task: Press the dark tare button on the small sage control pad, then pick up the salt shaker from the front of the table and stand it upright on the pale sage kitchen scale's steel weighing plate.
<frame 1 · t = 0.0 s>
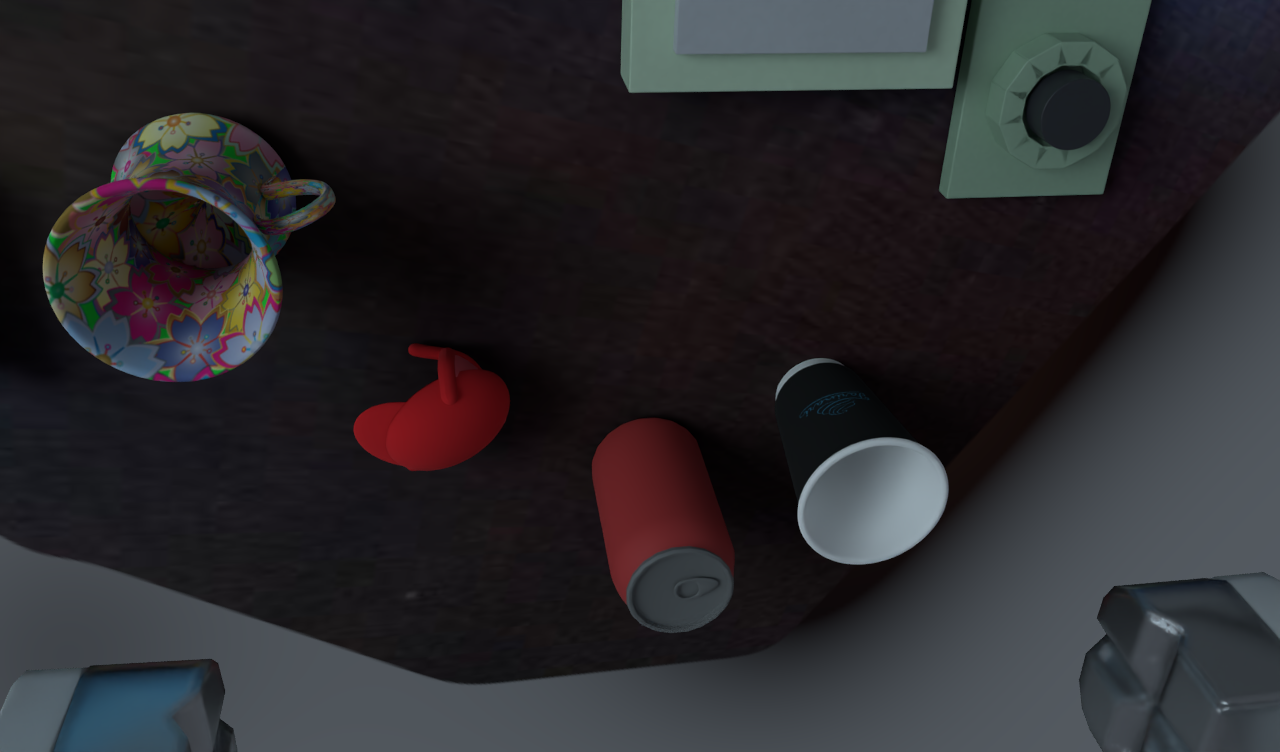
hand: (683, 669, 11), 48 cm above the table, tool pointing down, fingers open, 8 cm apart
cap: (434, 380, 64), on the table
beer can: (644, 456, 68), on the table
mug: (234, 179, 56), on the table
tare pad: (1037, 89, 60), on the table
dixie cup: (813, 391, 68), on the table
tare button: (1067, 109, 57), point 3 cm above the table, slide at 0.1 cm
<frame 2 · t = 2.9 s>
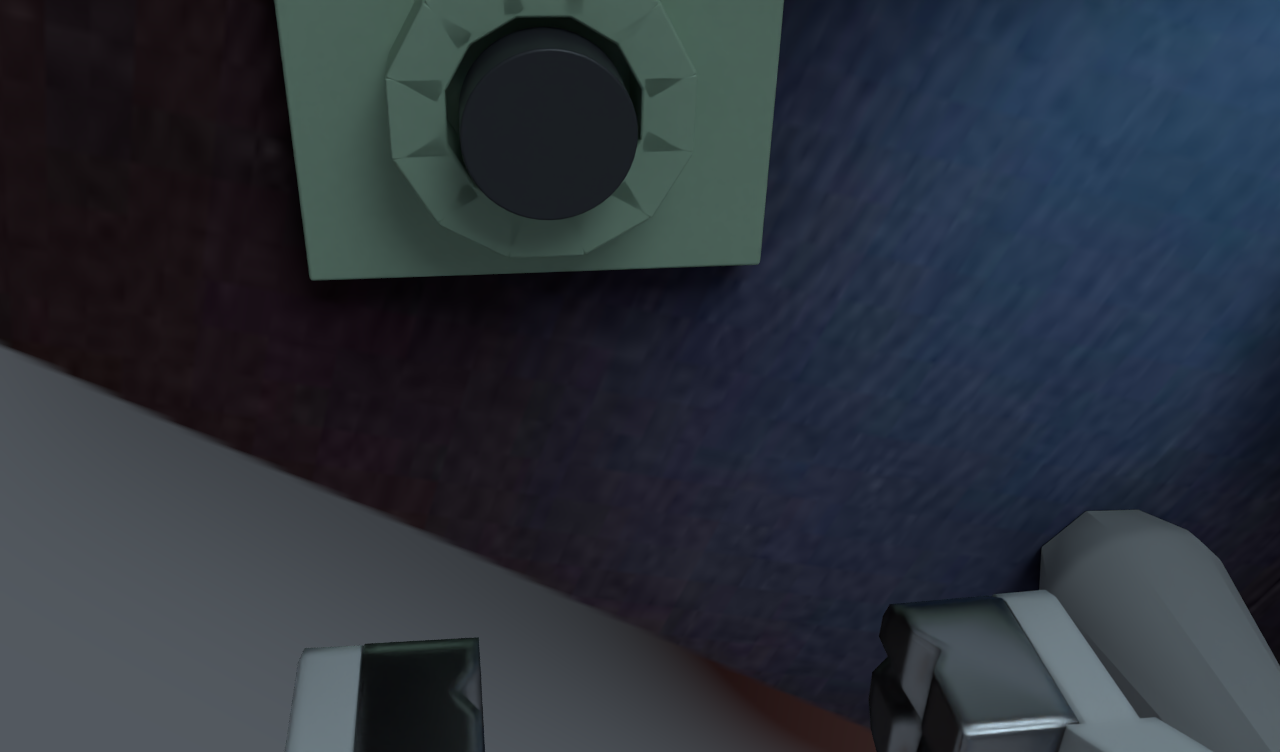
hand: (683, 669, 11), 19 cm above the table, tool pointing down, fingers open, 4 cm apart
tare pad: (535, 76, 27), on the table
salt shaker: (1092, 553, 38), on the table
tare button: (546, 124, 24), point 3 cm above the table, slide at 0.1 cm
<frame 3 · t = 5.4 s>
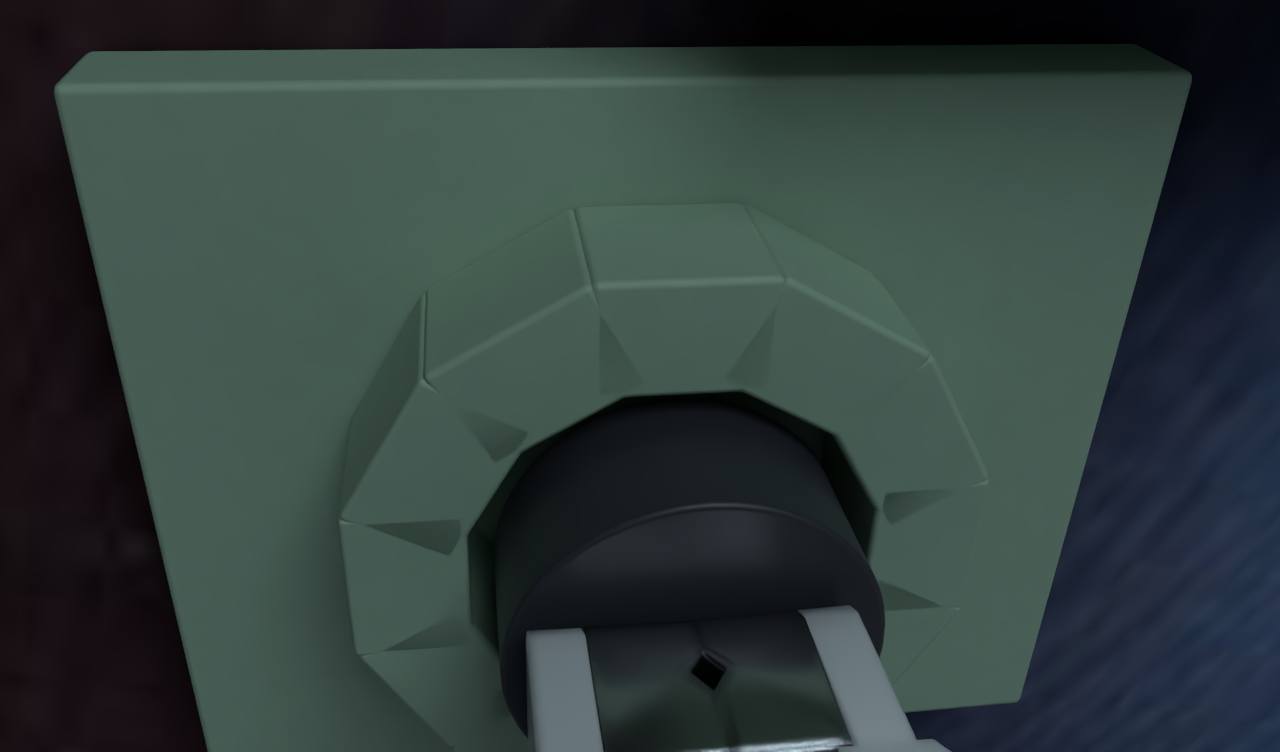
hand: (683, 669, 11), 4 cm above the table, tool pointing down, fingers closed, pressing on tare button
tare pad: (633, 411, 14), on the table
tare button: (681, 597, 11), point 3 cm above the table, slide at 0.0 cm, touching gripper
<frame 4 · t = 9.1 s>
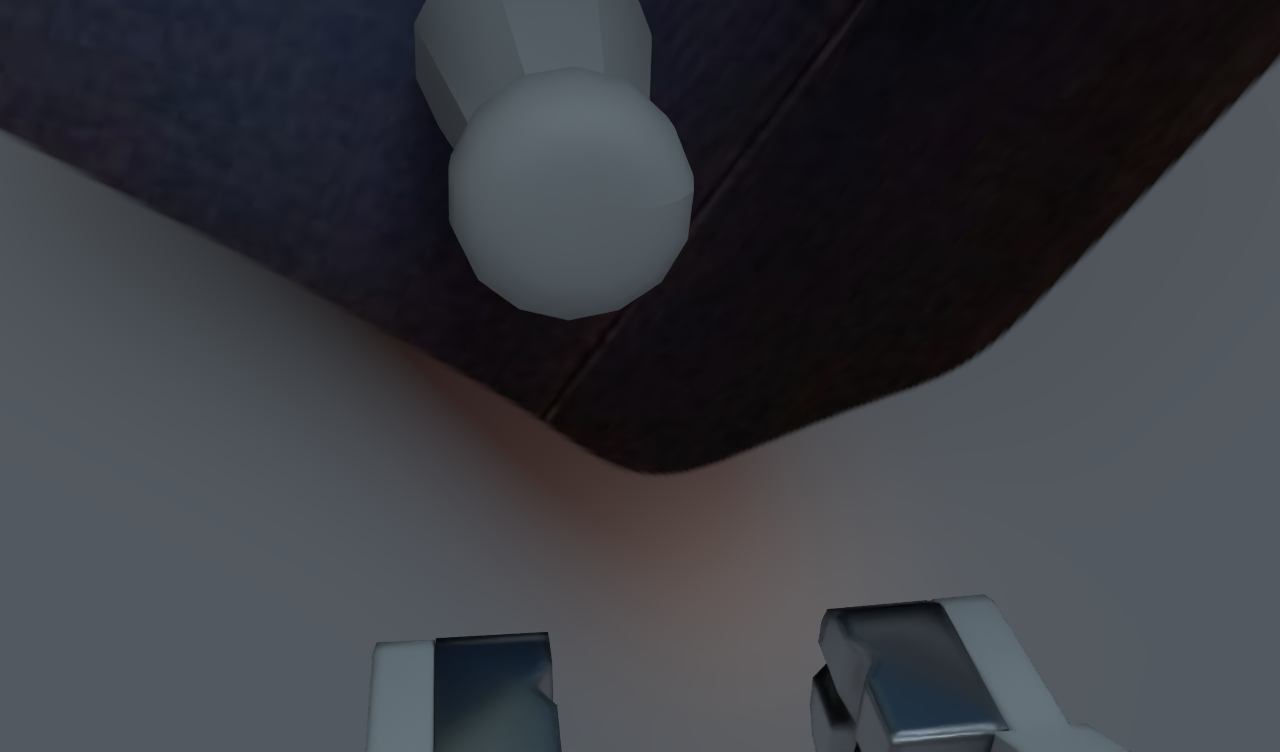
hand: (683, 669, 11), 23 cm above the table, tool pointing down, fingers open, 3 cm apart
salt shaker: (527, 29, 30), on the table
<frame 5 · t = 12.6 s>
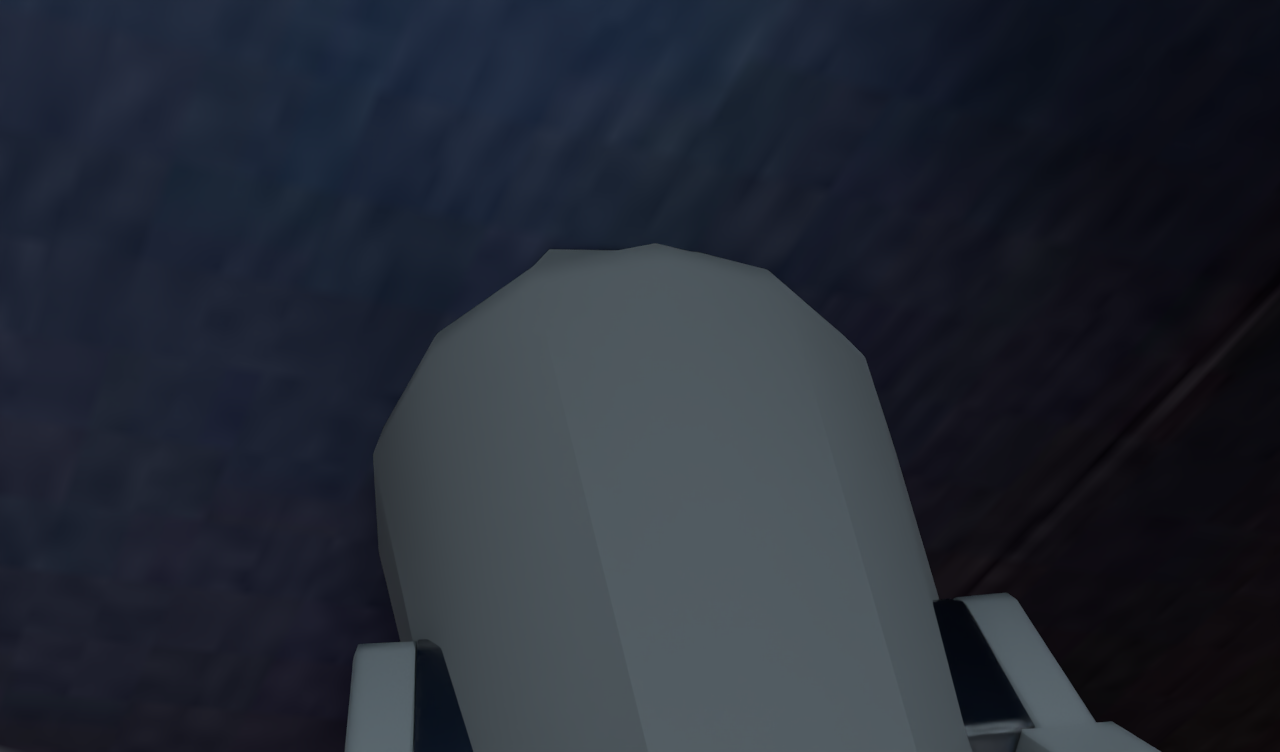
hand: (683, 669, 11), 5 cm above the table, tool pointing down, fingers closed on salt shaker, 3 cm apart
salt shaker: (609, 377, 15), on the table, touching gripper
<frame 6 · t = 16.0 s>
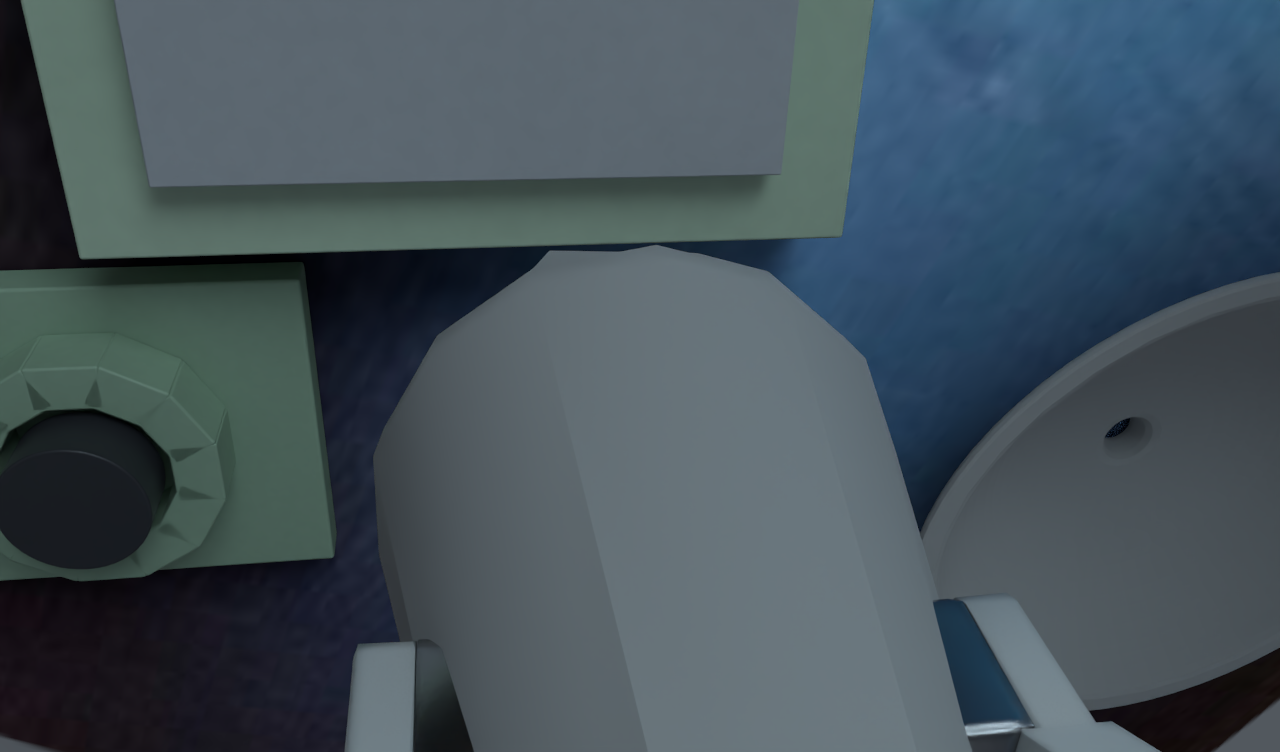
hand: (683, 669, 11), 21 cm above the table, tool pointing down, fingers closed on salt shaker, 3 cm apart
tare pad: (114, 416, 31), on the table
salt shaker: (610, 379, 15), point 16 cm above the table, touching gripper
dish: (1108, 418, 37), on the table
tare button: (82, 491, 28), point 3 cm above the table, slide at 0.1 cm
when the fingers open (9 cm above the table, at t = 19.5 s): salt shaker stays where it is, resting on scale.
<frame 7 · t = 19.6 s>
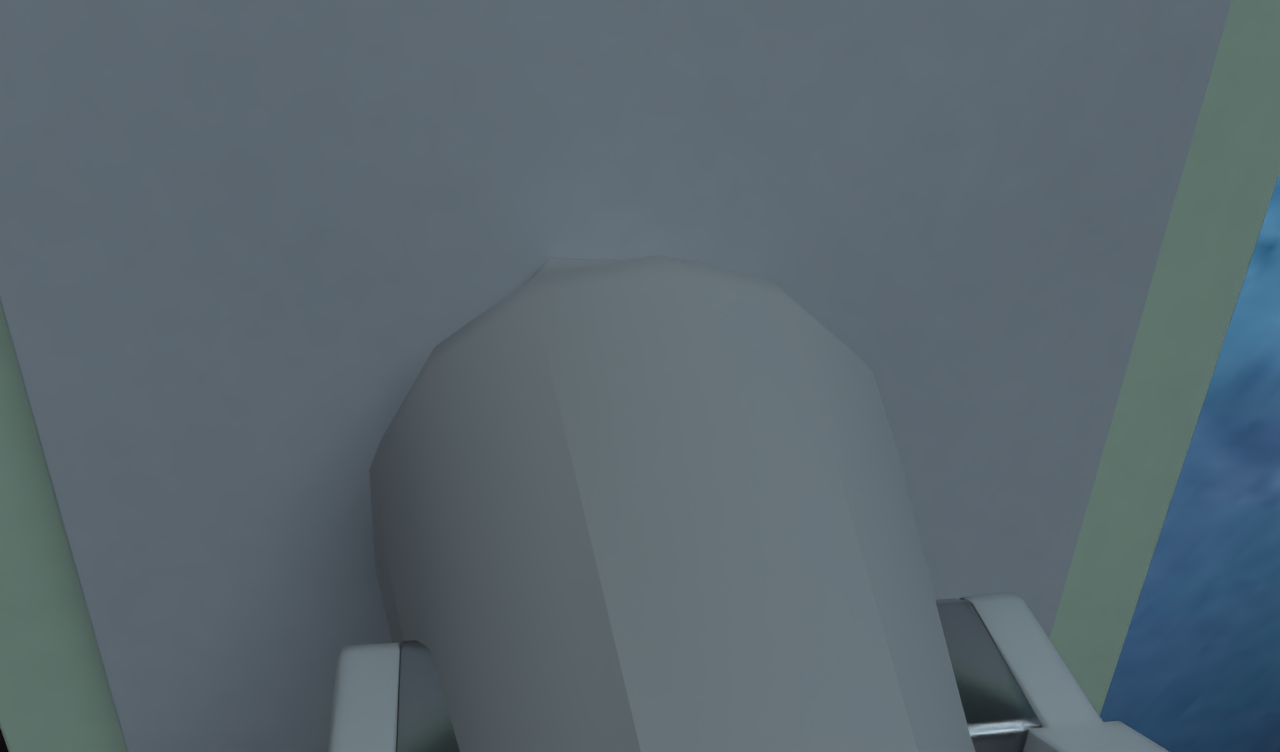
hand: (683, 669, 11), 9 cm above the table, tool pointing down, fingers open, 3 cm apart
scale: (585, 266, 18), on the table
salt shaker: (611, 388, 15), point 4 cm above the table, touching scale
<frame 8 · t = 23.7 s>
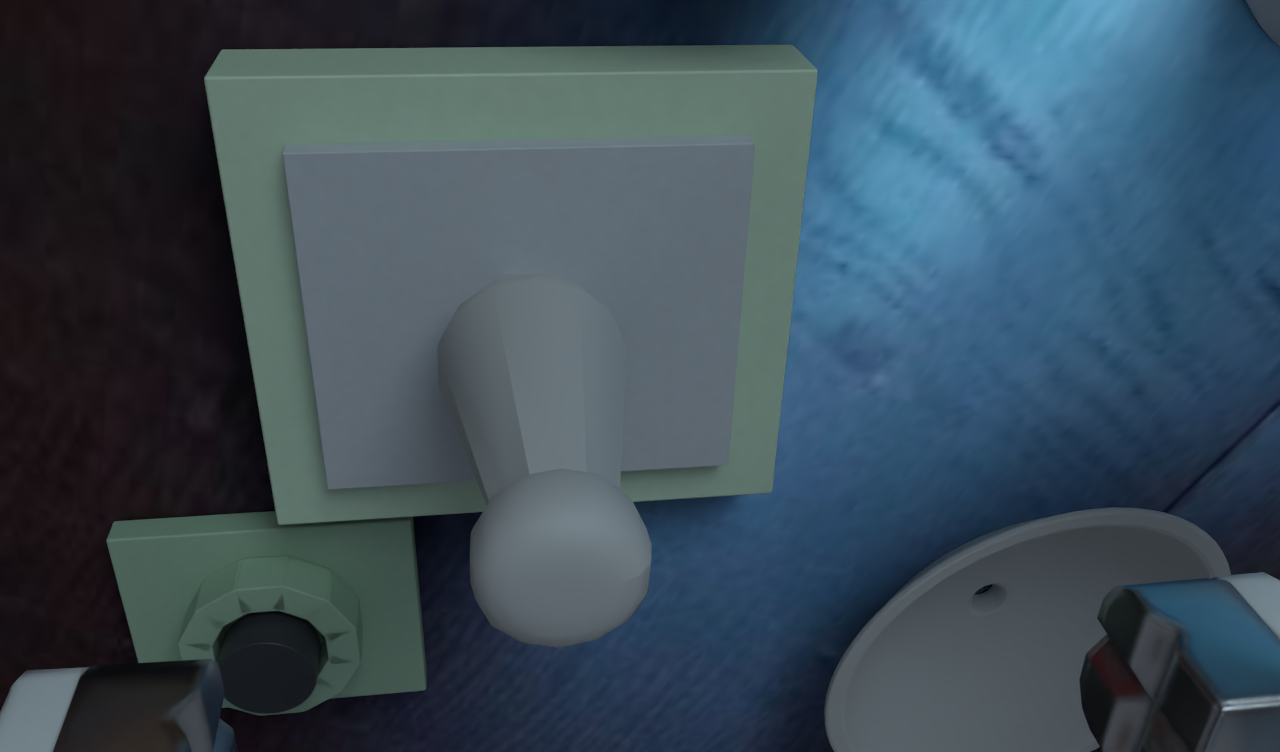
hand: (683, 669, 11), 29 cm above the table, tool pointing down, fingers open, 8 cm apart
scale: (522, 275, 40), on the table
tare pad: (280, 600, 46), on the table
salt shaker: (527, 325, 37), point 4 cm above the table, touching scale
dish: (978, 580, 51), on the table
tare button: (269, 662, 43), point 3 cm above the table, slide at 0.1 cm
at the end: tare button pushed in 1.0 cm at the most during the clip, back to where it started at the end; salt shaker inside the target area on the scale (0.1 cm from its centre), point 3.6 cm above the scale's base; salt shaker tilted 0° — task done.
